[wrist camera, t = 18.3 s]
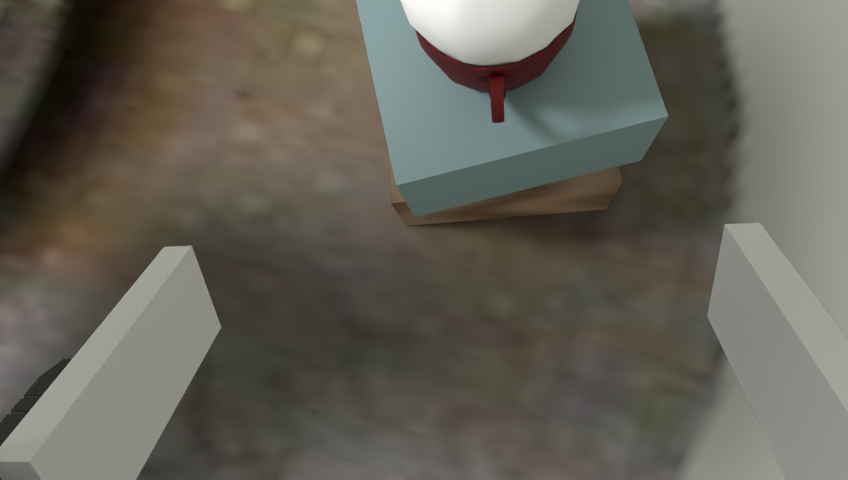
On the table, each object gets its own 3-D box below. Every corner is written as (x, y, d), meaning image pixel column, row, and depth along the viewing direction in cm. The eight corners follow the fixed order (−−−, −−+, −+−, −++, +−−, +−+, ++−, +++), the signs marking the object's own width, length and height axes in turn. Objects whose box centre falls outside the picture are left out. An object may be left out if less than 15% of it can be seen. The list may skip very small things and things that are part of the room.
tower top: (414, 217, 29) (396, 185, 24) (371, 22, 32) (347, -41, 27) (641, 160, 28) (668, 116, 23) (576, -35, 31) (589, -112, 26)
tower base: (407, 227, 34) (391, 203, 30) (399, 53, 37) (383, 4, 32) (605, 211, 33) (621, 182, 28) (583, 31, 36) (595, -23, 31)
